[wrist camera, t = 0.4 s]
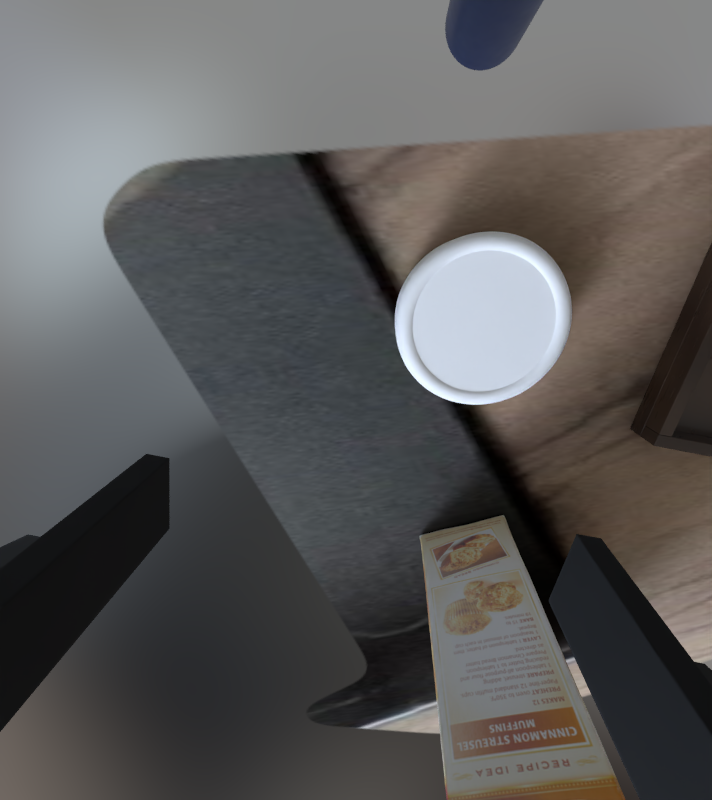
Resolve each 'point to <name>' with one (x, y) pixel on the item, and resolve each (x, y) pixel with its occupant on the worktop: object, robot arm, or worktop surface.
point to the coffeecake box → (504, 678)
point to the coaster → (483, 317)
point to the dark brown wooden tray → (683, 378)
